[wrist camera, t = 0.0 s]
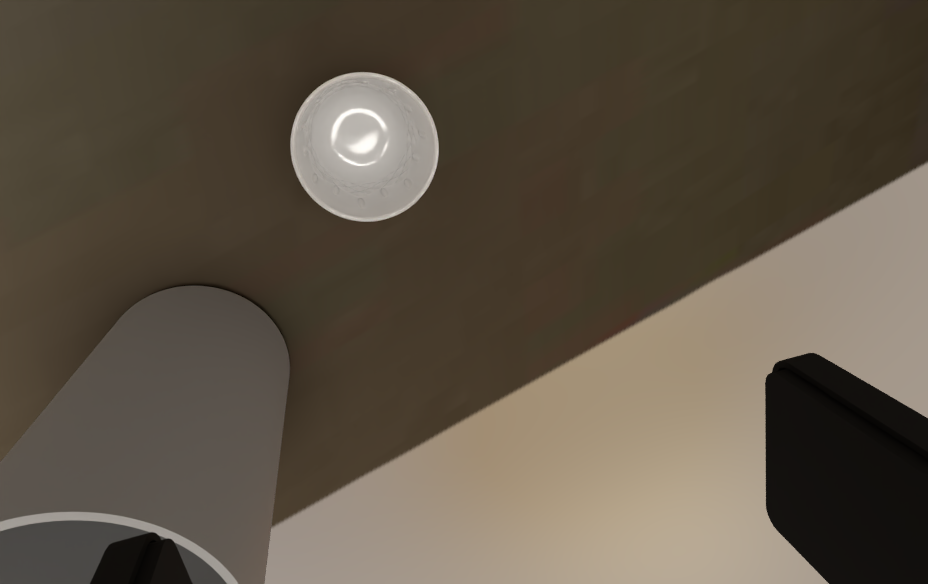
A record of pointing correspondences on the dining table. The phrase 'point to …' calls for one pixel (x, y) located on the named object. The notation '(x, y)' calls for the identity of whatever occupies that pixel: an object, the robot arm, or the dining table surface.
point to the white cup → (364, 146)
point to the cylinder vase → (155, 446)
